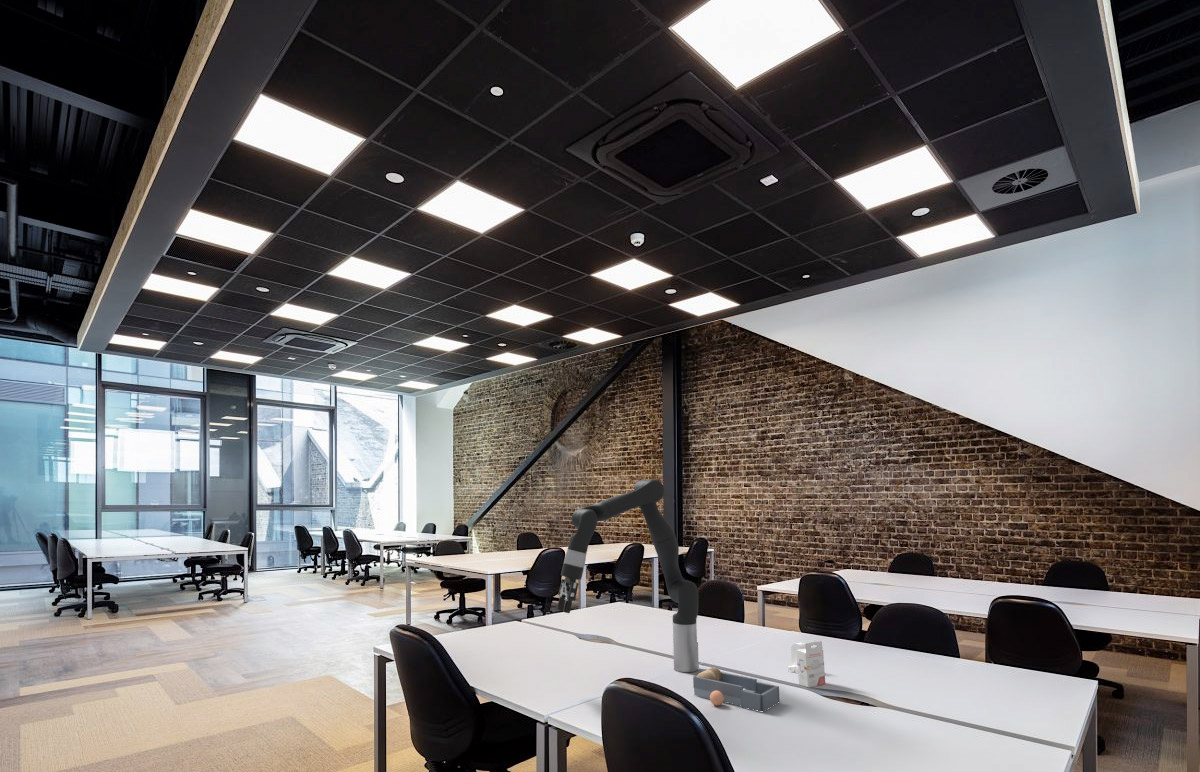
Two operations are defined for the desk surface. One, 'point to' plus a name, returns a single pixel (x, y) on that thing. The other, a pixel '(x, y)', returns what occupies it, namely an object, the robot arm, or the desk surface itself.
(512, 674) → the desk surface
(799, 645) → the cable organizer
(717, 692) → the ball
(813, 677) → the ink cartridge box
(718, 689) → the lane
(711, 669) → the tan curved piece
